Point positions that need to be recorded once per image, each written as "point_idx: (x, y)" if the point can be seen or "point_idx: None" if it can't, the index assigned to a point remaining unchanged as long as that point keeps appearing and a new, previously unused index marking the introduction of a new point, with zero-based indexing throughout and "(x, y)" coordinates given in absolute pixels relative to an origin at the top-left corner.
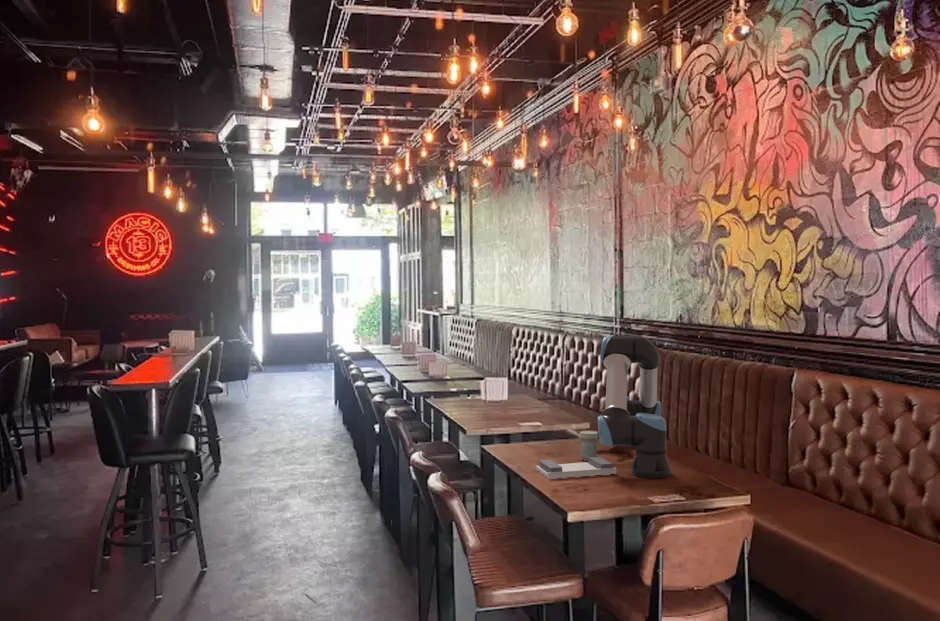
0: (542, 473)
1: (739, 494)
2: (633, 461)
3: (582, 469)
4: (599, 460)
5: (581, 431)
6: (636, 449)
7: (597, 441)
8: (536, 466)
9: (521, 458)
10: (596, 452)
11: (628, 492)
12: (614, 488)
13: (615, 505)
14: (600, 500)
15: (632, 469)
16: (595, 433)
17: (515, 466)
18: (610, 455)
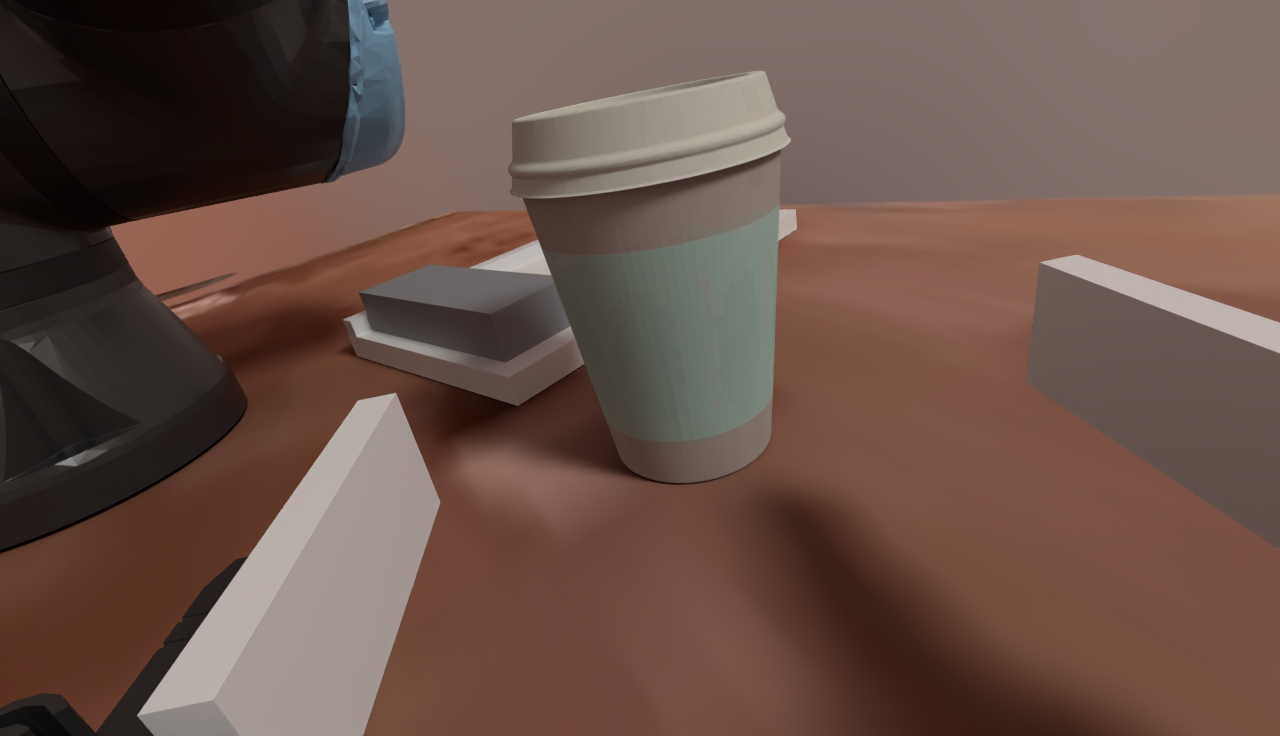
0: None
1: None
2: (190, 336)
3: (546, 272)
4: (456, 282)
5: (748, 72)
6: (117, 243)
7: (541, 247)
8: (784, 210)
9: (1132, 234)
10: (592, 383)
11: (302, 290)
12: (357, 285)
13: (348, 250)
14: (394, 245)
15: (230, 367)
16: (522, 117)
17: (924, 206)
18: None
